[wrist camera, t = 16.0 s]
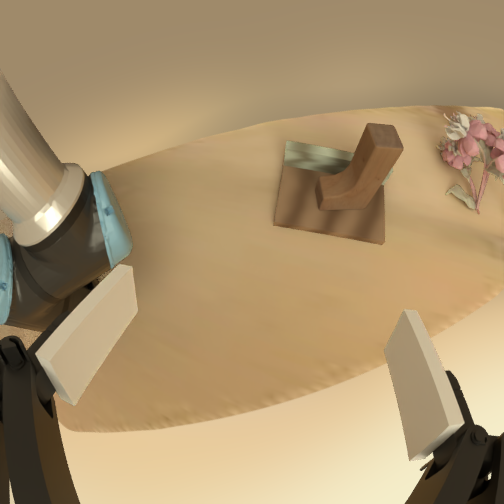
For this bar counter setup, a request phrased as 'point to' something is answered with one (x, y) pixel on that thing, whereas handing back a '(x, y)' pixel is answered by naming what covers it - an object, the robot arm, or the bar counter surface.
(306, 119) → the bar counter surface
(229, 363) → the bar counter surface
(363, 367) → the bar counter surface
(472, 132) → the flower
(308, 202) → the walnut edge board
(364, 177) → the wooden block
